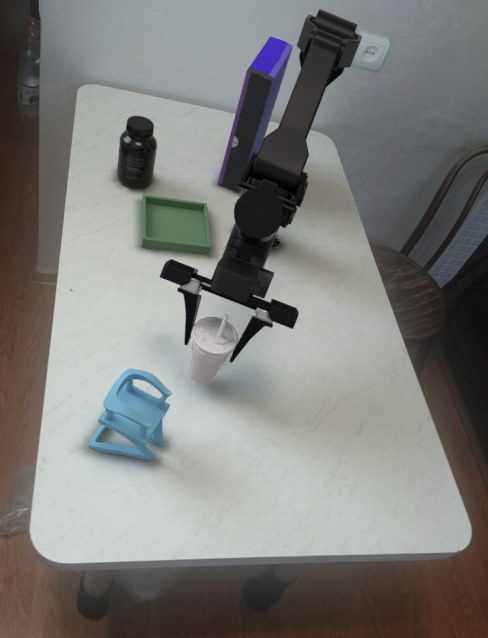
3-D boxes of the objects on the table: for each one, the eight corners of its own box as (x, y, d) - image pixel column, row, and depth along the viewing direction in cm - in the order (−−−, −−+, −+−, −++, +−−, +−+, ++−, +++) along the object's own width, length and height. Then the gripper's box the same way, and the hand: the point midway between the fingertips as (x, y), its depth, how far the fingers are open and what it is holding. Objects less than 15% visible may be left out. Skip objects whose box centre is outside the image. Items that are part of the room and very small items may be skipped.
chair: (143, 476, 70) (155, 432, 61) (87, 446, 70) (90, 398, 61) (171, 430, 75) (185, 383, 66) (118, 403, 75) (125, 352, 66)
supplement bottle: (159, 181, 107) (167, 126, 98) (136, 194, 103) (143, 138, 94) (132, 163, 108) (138, 107, 99) (109, 176, 104) (113, 119, 95)
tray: (204, 211, 105) (206, 203, 103) (209, 255, 98) (211, 247, 96) (141, 202, 102) (142, 194, 100) (141, 247, 95) (142, 238, 93)
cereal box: (240, 144, 122) (270, 35, 104) (259, 152, 123) (293, 44, 104) (217, 184, 111) (247, 69, 93) (238, 193, 111) (272, 80, 93)
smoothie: (217, 398, 78) (241, 340, 67) (175, 384, 77) (191, 324, 67) (227, 364, 82) (251, 304, 71) (187, 350, 81) (204, 289, 71)
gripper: (175, 210, 64) (130, 333, 65) (322, 267, 64) (274, 388, 66) (186, 222, 75) (148, 327, 76) (311, 271, 75) (270, 374, 77)
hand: (208, 353), depth 73 cm, fingers closed on smoothie, 6 cm apart
